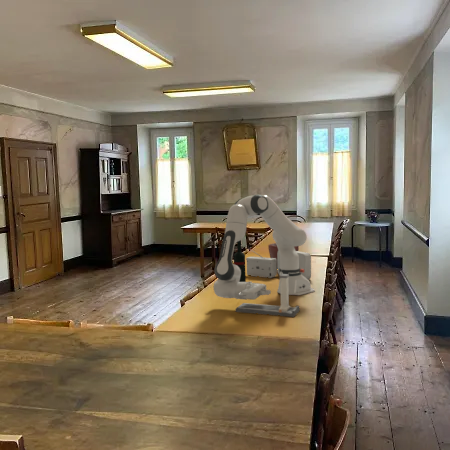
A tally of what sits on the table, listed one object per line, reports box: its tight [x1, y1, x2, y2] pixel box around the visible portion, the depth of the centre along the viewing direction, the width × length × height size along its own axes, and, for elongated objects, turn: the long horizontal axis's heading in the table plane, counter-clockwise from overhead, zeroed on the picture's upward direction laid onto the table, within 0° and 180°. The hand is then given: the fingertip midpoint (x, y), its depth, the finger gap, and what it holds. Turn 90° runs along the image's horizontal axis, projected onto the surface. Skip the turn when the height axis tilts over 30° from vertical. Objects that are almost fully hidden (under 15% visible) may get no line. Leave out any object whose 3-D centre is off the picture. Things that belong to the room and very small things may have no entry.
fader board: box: [235, 302, 301, 318], centre depth 229 cm, size 30×12×3 cm, turn 68°
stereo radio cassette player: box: [245, 247, 278, 279], centre depth 318 cm, size 21×8×20 cm, turn 58°
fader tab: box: [279, 274, 291, 311], centre depth 225 cm, size 4×7×17 cm, turn 158°
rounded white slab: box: [277, 250, 312, 280], centre depth 314 cm, size 29×8×18 cm, turn 33°
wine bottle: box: [233, 240, 247, 282], centre depth 298 cm, size 8×10×30 cm
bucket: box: [267, 242, 300, 269], centre depth 345 cm, size 24×22×25 cm
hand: (269, 292), depth 228 cm, fingers closed
